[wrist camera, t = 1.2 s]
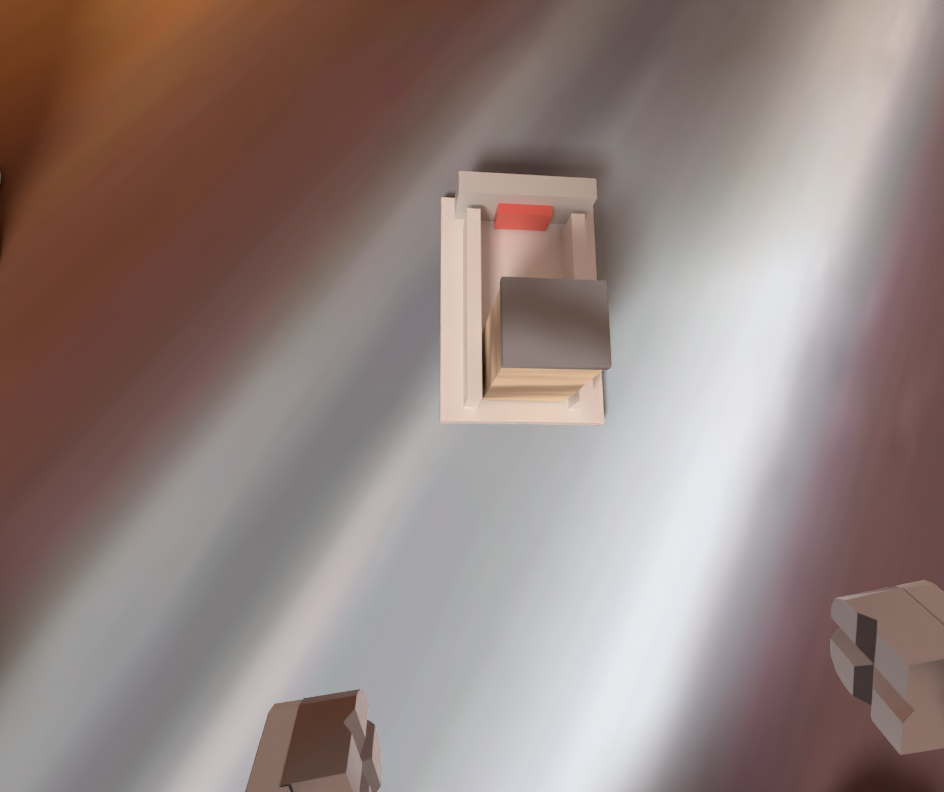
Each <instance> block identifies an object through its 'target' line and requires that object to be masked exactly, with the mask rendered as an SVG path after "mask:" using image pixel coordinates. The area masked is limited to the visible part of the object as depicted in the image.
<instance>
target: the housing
mask: <svg viewBox="0 0 944 792" xmlns="http://www.w3.org/2000/svg"><path fill="white" fill-rule="evenodd" d="M596 200H597V187H596V179H595V178H577V177H559V176H541V175H523V174H505V173H487V172H469V171H459V173H458V180H457V186H456V193H455V198H447V197H441V239H440V421H439V423H452V424H532V425H602V424H604V407H603V387H602V371H601V372H600V373H599V374H598V375H596V376H595V377H594V378H593V379H592V380H590V381H589V382H588V383H587V384H585V385H584V386H583V387H582V388H580V389H579V390H578V391H577V392H576V393H574V394H573V395H572V396H571V397H569V398H568V399H567V400H566V401H505V400H482V332H483V329H484V327H485V324H486V322H487V319H488V317H489V314H490V311H491V309H492V306H493V304H494V301H495V299H496V296H497V294H498V291H499V289H500V280H501V277H528V278H554V279H581V280H597V272H596V253H595V233H594V214H593V205H594V203H595V201H596Z"/></svg>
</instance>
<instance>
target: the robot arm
mask: <svg viewBox="0 0 944 792" xmlns="http://www.w3.org/2000/svg"><path fill="white" fill-rule="evenodd" d="M0 182H1V172H0ZM831 617H832V619H833V620H834V621H835V622H836V623H837V624H838V625H839V627H838V628H837V630H836V631H835V632H834V634H833V635H832V636H831V638H830V654H831V657H832V660H833V663H834V666H835V670H836V672H837V674H838V675H839V677H840V679H841V681H842V683H843V684H844V685H845V687H846V688H847V689H848V690H849V692H850V693H851V694H852V696H854V697H856V698H858V699H860V700H861V701H863V702H865V703H867V704H869V705H871V720H872V721H873V722H874V723H875V724H876V726H877V727H878V728H879V729H880V731H881V732H882V733H883V734H884V736H885V737H886V738H887V739H888V741H889V742H890V743H891V744H892V745H893V747H894V748H895V749H896V750H897V752H898V753H899V754H900V755H903V754H909V753H916V752H922V751H928V750H934V749H941V748H944V592H943V591H942V590H941V589H940V588H938V587H937V586H936V585H935V584H933V583H931V582H928V581H926V580H922V581H917V582H912V583H907V584H902V585H897V586H894V587H888V588H883V589H878V590H873V591H868V592H863V593H858V594H853V595H848V596H843V597H838V598H835V600H834V602H833V604H832V610H831ZM368 707H369V705H368V702H367V699H366V697H365V694H364V691H362V690H360V689H359V690H353V691H346V692H340V693H334V694H328V695H322V696H316V697H310V698H304V699H302V700H296V701H290V702H283V703H277V704H274V706H273V707H272V708H271V710H270V711H269V713H268V716H267V720H266V723H265V726H264V730H263V733H262V737H261V740H260V743H259V747H258V750H257V753H256V757H255V760H254V764H253V767H252V770H251V774H250V777H249V781H248V784H247V787H246V791H245V792H377V791H378V789H379V788H380V786H381V773H382V765H381V749H380V743H379V738H378V734H377V730H376V727H375V725H374V724H373V723H371V722H370V721H368V720H367V716H368Z"/></svg>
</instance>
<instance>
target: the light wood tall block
mask: <svg viewBox="0 0 944 792" xmlns="http://www.w3.org/2000/svg"><path fill="white" fill-rule="evenodd" d="M610 367H612V366H611V348H610V330H609V312H608V294H607V280H581V279H554V278H528V277H501V280H500V289H499V291H498V294H497V296H496V299H495V301H494V304H493V306H492V309H491V311H490V314H489V317H488V319H487V322H486V324H485V327H484V329H483V332H482V400H505V401H566V400H567V399H568V398H569V397H571V396H572V395H573V394H574V393H576V392H577V391H578V390H579V389H580V388H582V387H583V386H584V385H585V384H587V383H588V382H589V381H590V380H592V379H593V378H594V377H595V376H596V375H598V374H599V373H600V372H601V371H603V370H608V369H609V368H610Z"/></svg>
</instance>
